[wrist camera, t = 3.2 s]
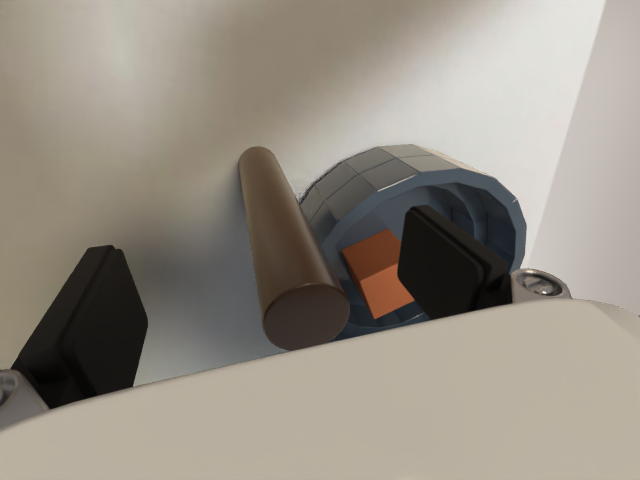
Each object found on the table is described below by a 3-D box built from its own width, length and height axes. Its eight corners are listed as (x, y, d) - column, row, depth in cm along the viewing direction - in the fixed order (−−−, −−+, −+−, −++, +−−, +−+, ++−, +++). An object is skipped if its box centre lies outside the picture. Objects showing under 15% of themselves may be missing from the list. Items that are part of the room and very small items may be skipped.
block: (388, 227, 25) (414, 255, 21) (398, 265, 27) (424, 296, 23) (340, 250, 24) (359, 281, 21) (355, 286, 27) (374, 319, 23)
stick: (275, 145, 20) (352, 276, 8) (278, 182, 21) (348, 342, 9) (236, 147, 19) (258, 292, 8) (241, 185, 21) (266, 360, 9)
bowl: (489, 135, 24) (561, 158, 19) (447, 300, 31) (490, 347, 26) (276, 151, 20) (294, 184, 15) (289, 331, 28) (304, 391, 23)
